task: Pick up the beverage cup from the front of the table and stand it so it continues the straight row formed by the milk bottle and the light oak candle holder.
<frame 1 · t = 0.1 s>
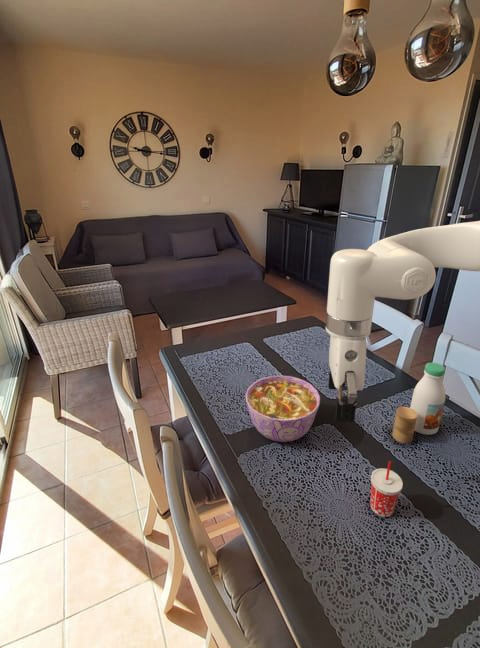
hand: (340, 403, 69), 27 cm above the table, tool pointing down, fingers open, 9 cm apart
beverage cup: (381, 511, 78), on the table
milk bottle: (421, 428, 101), on the table
candle holder: (401, 439, 97), on the table
bowl of food: (281, 430, 102), on the table
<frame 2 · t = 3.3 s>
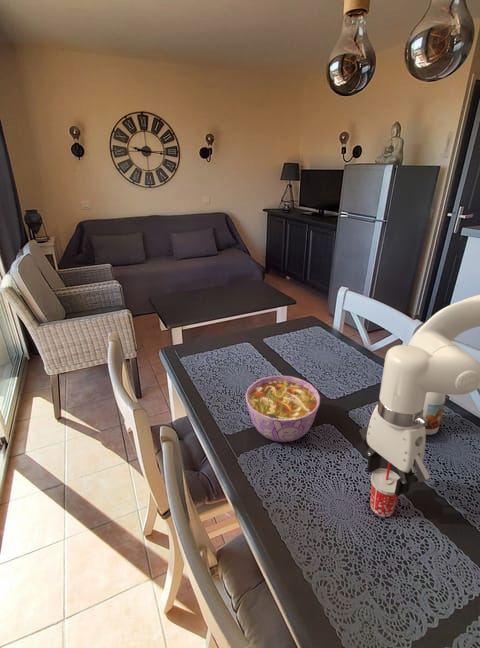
hand: (386, 479, 74), 9 cm above the table, tool pointing down, fingers closed on beverage cup, 6 cm apart
beverage cup: (381, 511, 78), on the table, touching gripper
everything else where it was.
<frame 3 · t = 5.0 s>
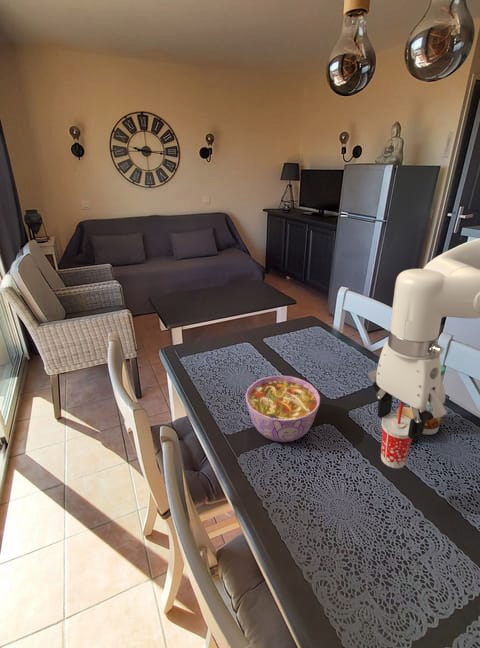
hand: (398, 423, 69), 23 cm above the table, tool pointing down, fingers closed on beverage cup, 6 cm apart
beverage cup: (392, 460, 73), point 14 cm above the table, touching gripper
everything else where it was.
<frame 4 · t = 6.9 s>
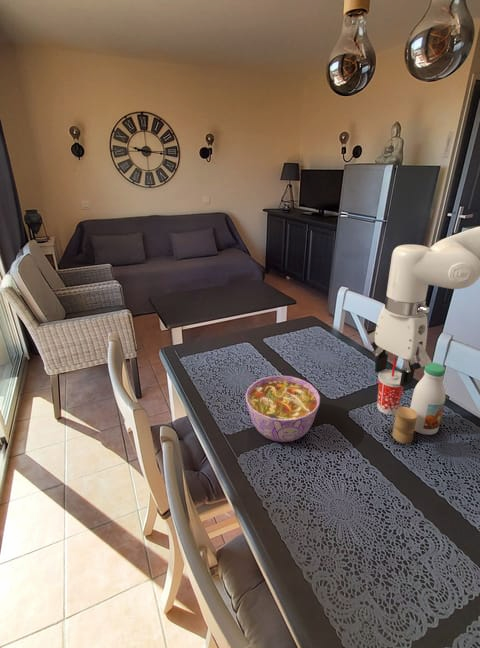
hand: (392, 376, 83), 23 cm above the table, tool pointing down, fingers closed on beverage cup, 6 cm apart
beverage cup: (387, 409, 87), point 14 cm above the table, touching gripper
everything else where it was.
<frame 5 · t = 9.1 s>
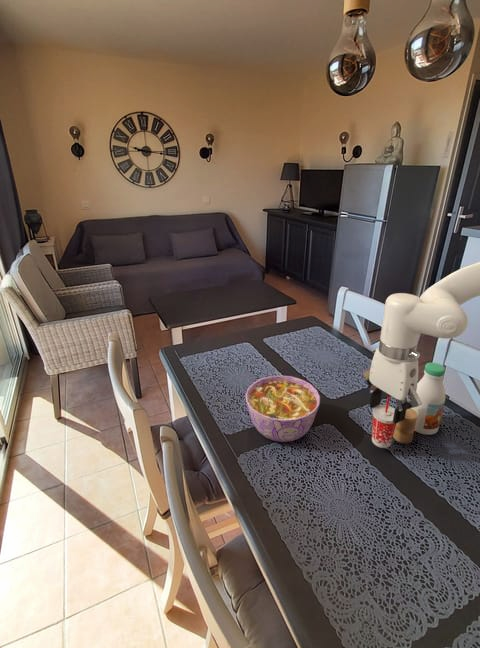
hand: (386, 412, 88), 13 cm above the table, tool pointing down, fingers closed on beverage cup, 6 cm apart
beverage cup: (381, 441, 91), point 3 cm above the table, touching gripper
everything else where it was.
when the fingers open (9 cm above the table, at t = 10.5 s): beverage cup stays where it is, on the table.
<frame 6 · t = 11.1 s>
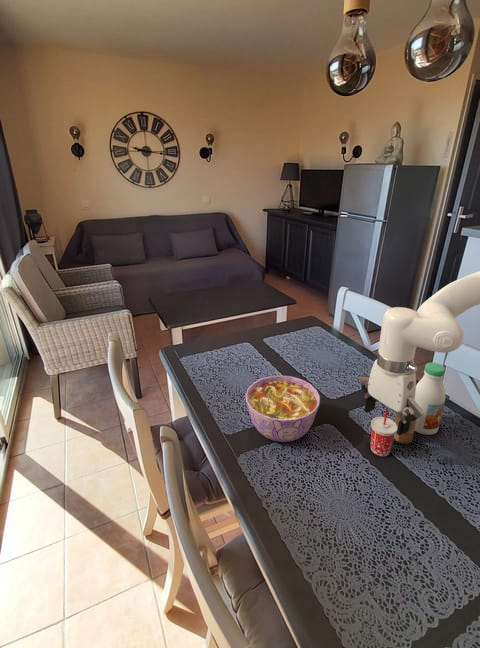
hand: (385, 421, 89), 10 cm above the table, tool pointing down, fingers open, 9 cm apart
beverage cup: (379, 453, 93), on the table
everything else where it was.
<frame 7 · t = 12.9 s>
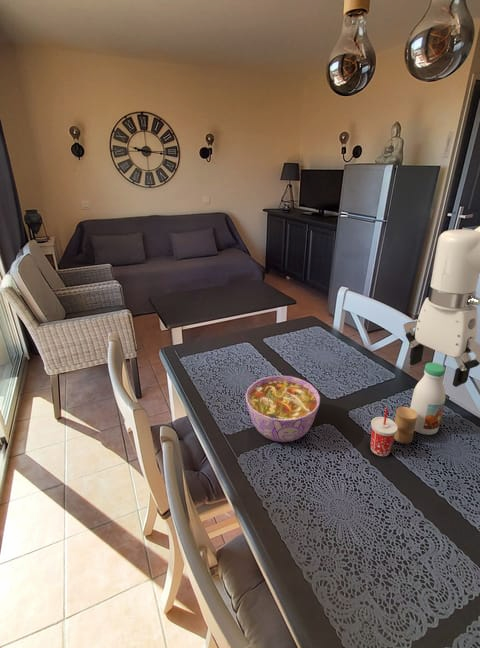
hand: (435, 373, 75), 28 cm above the table, tool pointing down, fingers open, 9 cm apart
nothing on the table moved.
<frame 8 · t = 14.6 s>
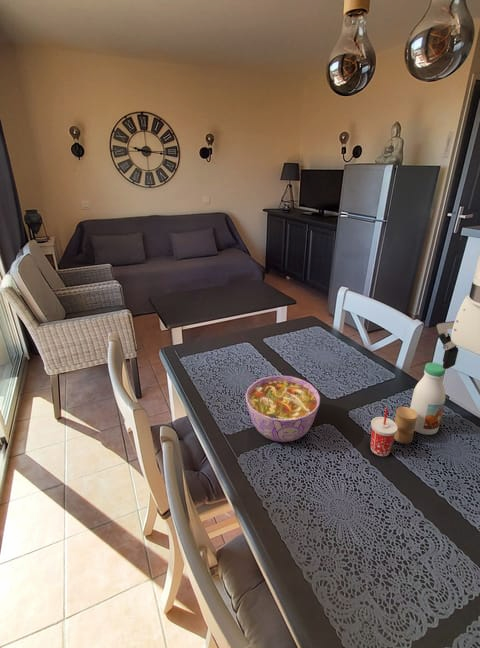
hand: (472, 377, 70), 30 cm above the table, tool pointing down, fingers open, 9 cm apart
nothing on the table moved.
at the end: beverage cup 0.1 cm from the target spot on the table beside the candle holder, on the table; beverage cup tilted 0°; candle holder moved 0.0 cm from its start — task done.
